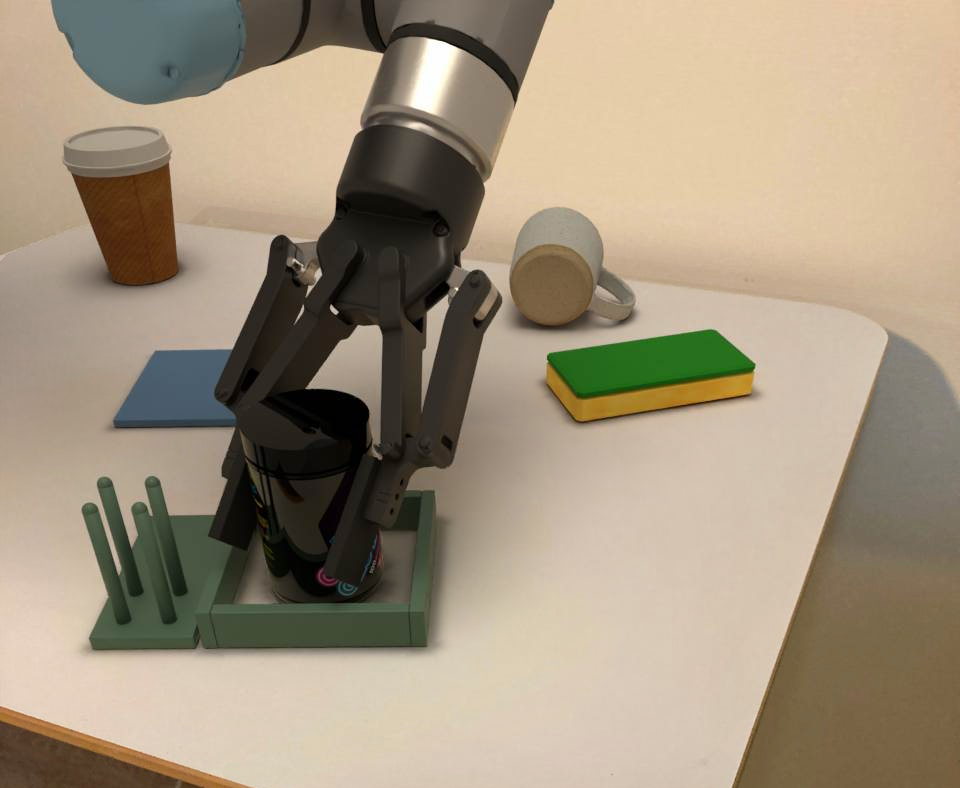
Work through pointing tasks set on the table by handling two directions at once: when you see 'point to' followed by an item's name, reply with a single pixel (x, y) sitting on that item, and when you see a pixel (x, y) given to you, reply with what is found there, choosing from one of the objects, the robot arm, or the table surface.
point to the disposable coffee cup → (127, 199)
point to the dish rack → (233, 586)
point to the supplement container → (307, 488)
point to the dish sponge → (648, 374)
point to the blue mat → (177, 391)
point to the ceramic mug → (564, 270)
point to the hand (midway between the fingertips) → (282, 561)
